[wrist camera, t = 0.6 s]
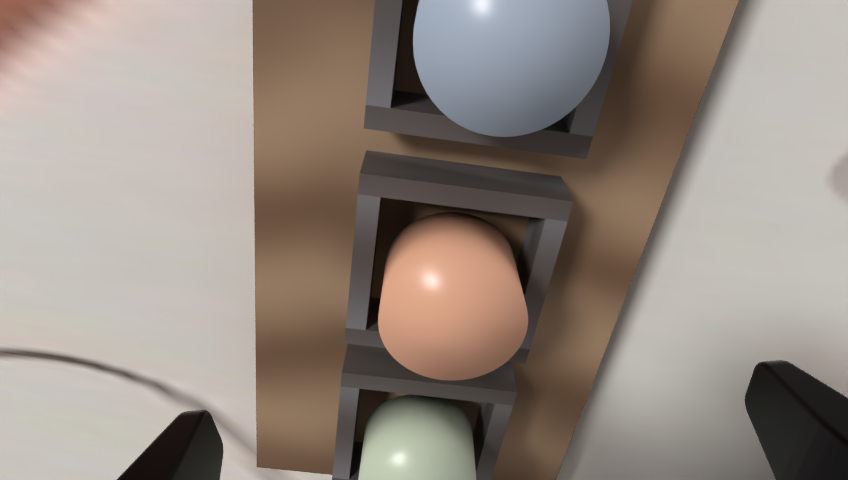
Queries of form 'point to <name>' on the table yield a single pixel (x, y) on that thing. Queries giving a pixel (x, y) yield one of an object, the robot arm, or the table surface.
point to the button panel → (449, 192)
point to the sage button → (418, 441)
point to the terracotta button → (451, 298)
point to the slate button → (509, 59)
